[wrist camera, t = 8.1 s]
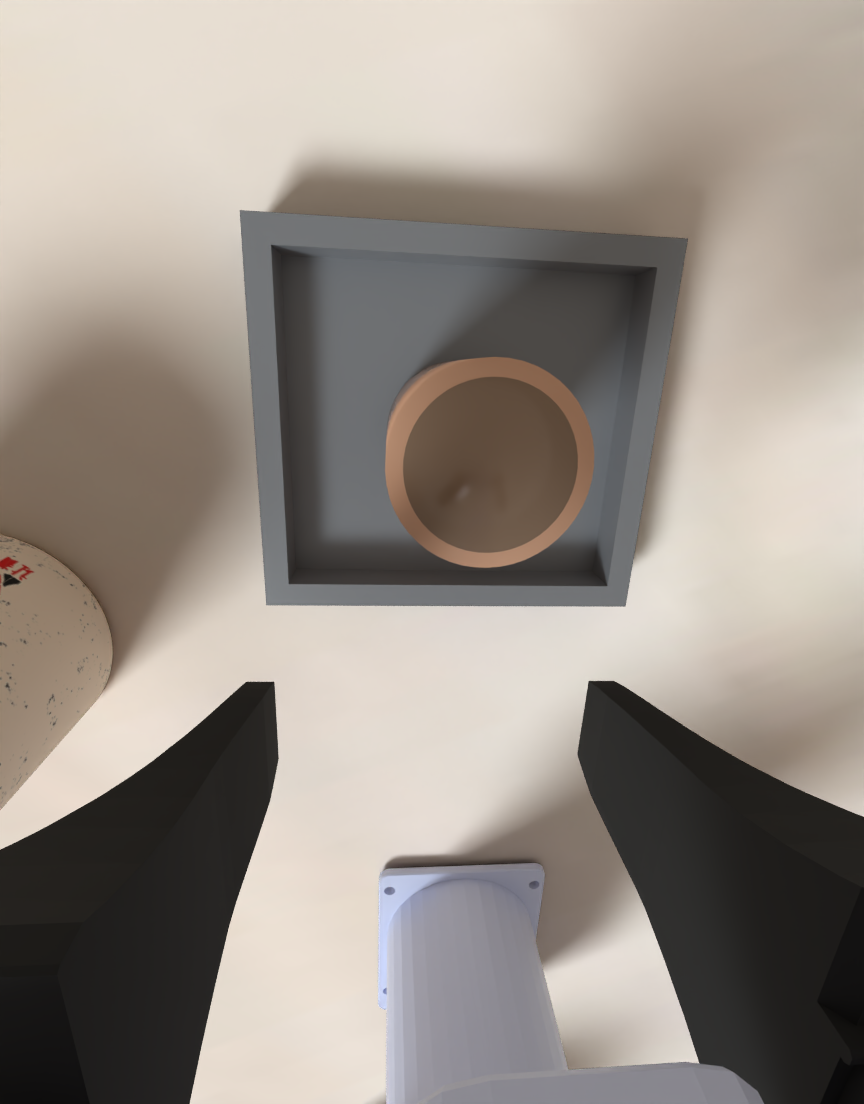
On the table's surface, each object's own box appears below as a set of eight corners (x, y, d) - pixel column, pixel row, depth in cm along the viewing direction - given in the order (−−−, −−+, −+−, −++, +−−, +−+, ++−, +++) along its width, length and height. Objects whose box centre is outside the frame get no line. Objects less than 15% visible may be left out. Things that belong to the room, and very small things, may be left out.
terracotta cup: (519, 498, 20) (585, 565, 13) (388, 501, 19) (388, 571, 13) (526, 360, 18) (605, 356, 12) (384, 360, 18) (381, 357, 11)
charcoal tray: (604, 585, 22) (625, 606, 20) (277, 583, 21) (266, 605, 19) (656, 252, 18) (687, 238, 16) (256, 228, 17) (239, 210, 15)
